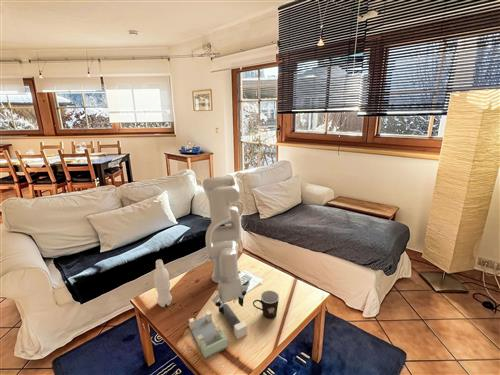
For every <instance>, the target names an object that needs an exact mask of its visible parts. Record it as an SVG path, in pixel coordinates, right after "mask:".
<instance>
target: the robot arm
mask: <svg viewBox="0 0 500 375" xmlns="http://www.w3.org/2000/svg"><path fill="white" fill-rule="evenodd" d="M202 189H203V190H204V193H205V195H206V197H207V199H208V203H209V204H208V205H209V215H210V216H209V218H210V221H211V223H210V224H209V226H208V228H207V229H206V233H205V248H206V249H205V250H206V256H207V257H208V259H209V260H212V266H213V272H212V274H211V275H210V276H211V280H212V281H213V282H214V283H216V284H218V286H217V287H218V288H217V294H216V296H214V297H213V298H212V299H211V301H212V302H213V304H214V305H215V306H216V307H218V312H219V314H221V315H222V316H225V315H224V308H223V305H224V304H227V303H228V302H231V301H233V300H235V299H238V301H237V302H238V305H240V307H244V299H245V296H246V294H247V291H248V289H249V288H248V286H247V285H244V284H243V285H242V283H241V282H242V281H241V278H240V276H239V274H240V273H241V270H240V269H239V266H238V253H239V244H238V242H240V241H241V239H242V227H241V215H240V210H239V208H238V207H237V206H236V205H230V204H234V203H236V204H237V203H239V202H240V201H241V198H242V197H241V196H242V194H241V190H240V187H239V183H238V181H237V179H236V177H235V176H233V175H226V176H225V175H224V176H212V177H207V178H205V179H203V181H202ZM230 224H231V225H230ZM222 225H223V226H222Z"/></svg>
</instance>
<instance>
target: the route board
mask: <svg viewBox="0 0 500 375" xmlns="http://www.w3.org/2000/svg"><path fill="white" fill-rule="evenodd" d="M212 317H213V316H212V312H211V311H210V310H208V311H205V316H202V317H201V318H198V319H195V318H194V317H192V318H189V319H188V325H187V326H188V328H189V329H191V330H190V332H191V333H192V336H193V338H194V340H195V342H196V344H197V346H198V348H199V350H200V352H201V355H202V357H203V358H204V360H207V359H208V358H210V357H212V356H215V355H216V354H217V353H221V352H222V351H224V350H226V349H228V337H227V336H226V334H225V333H224V331H223V330H222V328H221V327H220V325H218V326H216V325H215V323H214V321H213V318H212Z"/></svg>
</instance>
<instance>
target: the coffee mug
mask: <svg viewBox="0 0 500 375" xmlns="http://www.w3.org/2000/svg"><path fill="white" fill-rule="evenodd" d="M279 300H280V296H279V294H278V292H276V291H275V290H265V291H263V292H262V293H261V294H260V299H255V300H254V301H253V302H252V305H253V307H254V308H256V309H258V310H260V311H262V315H263V317H264V318H265V319H268V320H274V319H275V318H276V317H277V314H278V313H277V312H278V306H279ZM257 302H259V303H260V304H261V308H260V307H259V306H256V305H255V303H257Z"/></svg>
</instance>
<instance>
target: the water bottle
mask: <svg viewBox="0 0 500 375" xmlns="http://www.w3.org/2000/svg"><path fill="white" fill-rule="evenodd" d="M168 271H169V270H167V268H165V266H164V262H163V260H162V259H160V258H159V259H157V260H156V261H155V270H154V273H153V281H154V289H156V291H157V299H156V302H157V304H158V305H159V306H160V307H162V308H165V307H166V306H170V305H171V303H172V299H173V296H172V295H171V292H170V287H171V281H170V275H169V274H170V273H169V272H168Z"/></svg>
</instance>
